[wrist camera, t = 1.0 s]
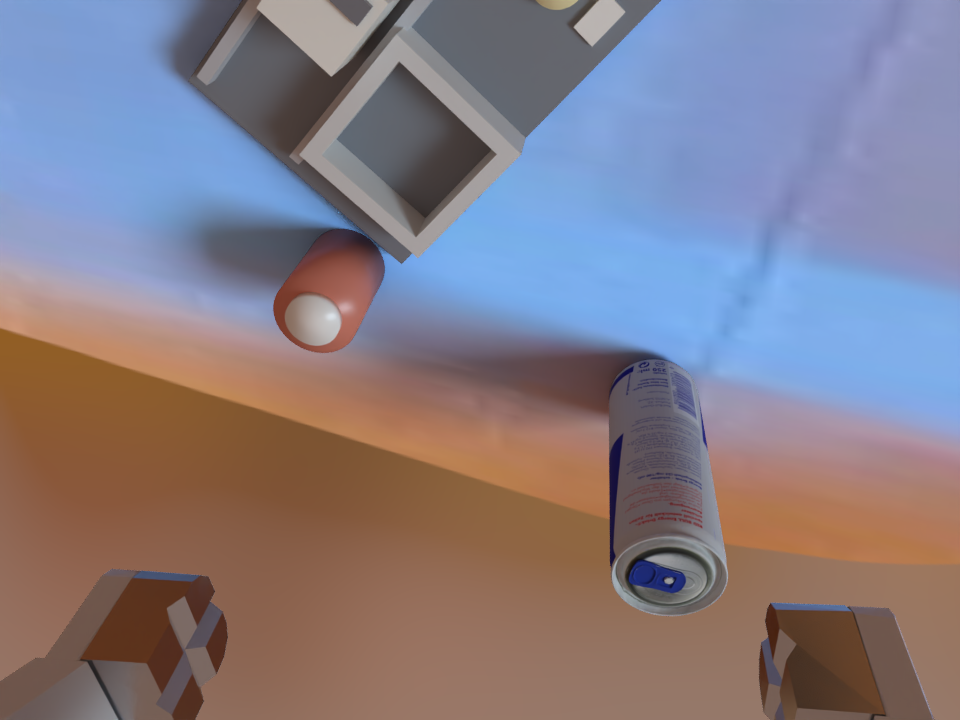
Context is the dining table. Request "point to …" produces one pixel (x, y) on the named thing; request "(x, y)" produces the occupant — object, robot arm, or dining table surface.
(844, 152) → the dining table surface
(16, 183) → the dining table surface
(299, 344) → the bottle with white cap
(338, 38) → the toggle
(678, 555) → the beverage can
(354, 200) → the panel
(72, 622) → the robot arm
